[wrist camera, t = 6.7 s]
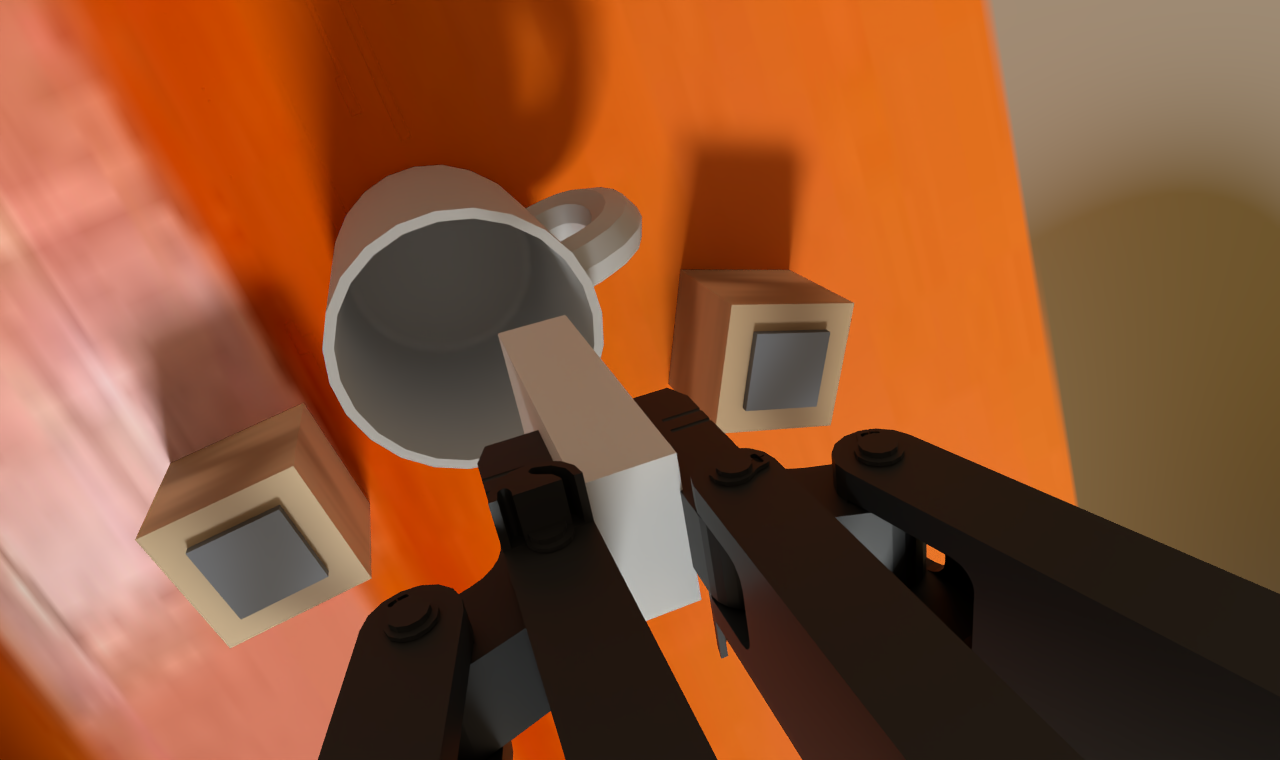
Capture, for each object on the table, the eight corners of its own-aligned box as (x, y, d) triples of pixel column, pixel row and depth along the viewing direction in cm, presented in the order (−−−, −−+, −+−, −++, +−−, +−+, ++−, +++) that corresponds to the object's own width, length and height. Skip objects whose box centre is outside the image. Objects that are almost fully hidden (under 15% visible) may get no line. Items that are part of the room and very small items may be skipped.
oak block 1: (249, 560, 30) (228, 654, 25) (170, 462, 27) (132, 545, 23) (369, 503, 31) (371, 583, 26) (303, 401, 28) (292, 470, 24)
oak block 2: (667, 383, 33) (717, 437, 28) (679, 269, 31) (735, 307, 26) (771, 378, 34) (834, 428, 30) (788, 269, 33) (858, 305, 28)
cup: (289, 222, 26) (258, 296, 18) (550, 88, 27) (628, 104, 19) (404, 390, 29) (420, 513, 21) (631, 266, 30) (725, 340, 22)
